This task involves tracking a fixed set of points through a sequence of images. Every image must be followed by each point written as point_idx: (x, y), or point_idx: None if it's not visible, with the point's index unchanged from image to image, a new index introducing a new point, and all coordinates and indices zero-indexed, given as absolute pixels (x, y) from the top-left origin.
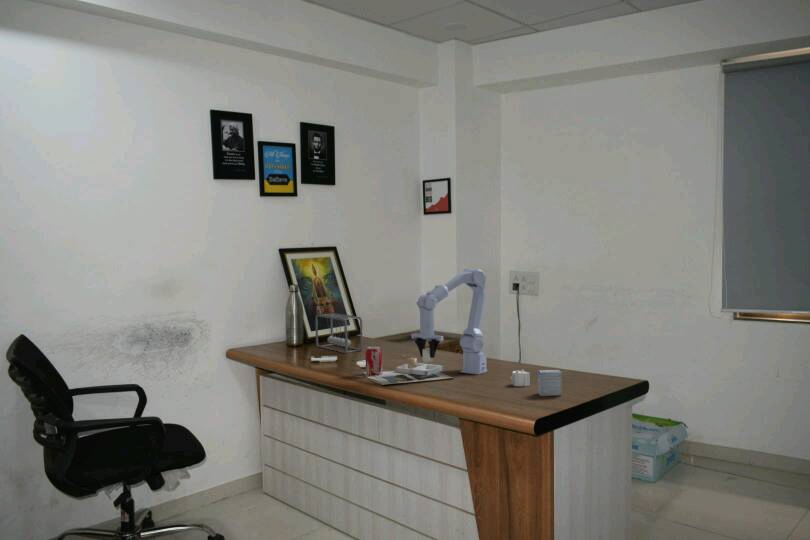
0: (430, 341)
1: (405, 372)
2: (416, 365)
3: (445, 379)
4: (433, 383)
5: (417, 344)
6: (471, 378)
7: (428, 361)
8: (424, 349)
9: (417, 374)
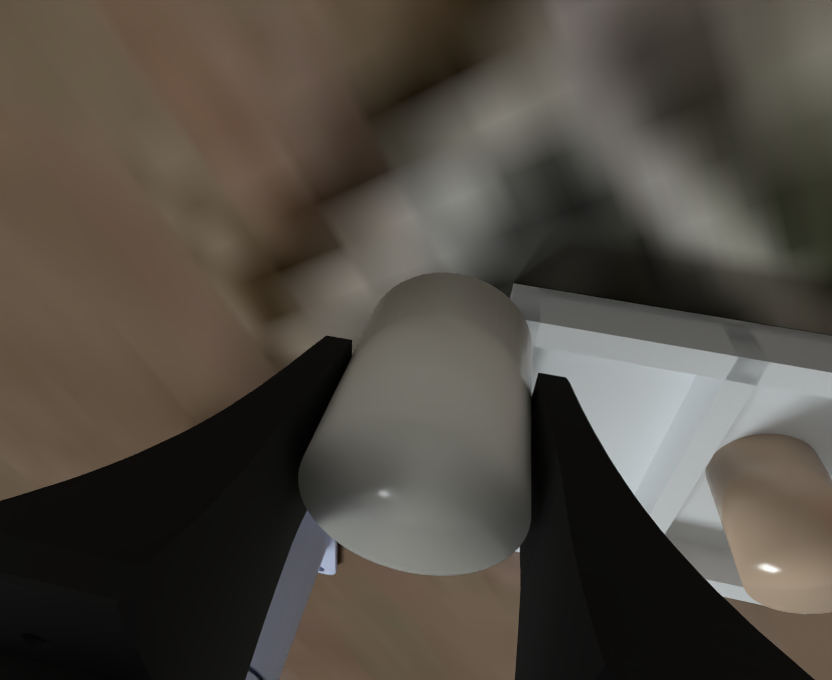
0: (15, 584)
1: (821, 345)
2: (722, 503)
3: (291, 255)
4: (283, 4)
5: (682, 590)
6: (143, 356)
7: (395, 290)
8: (452, 463)
9: (639, 312)
